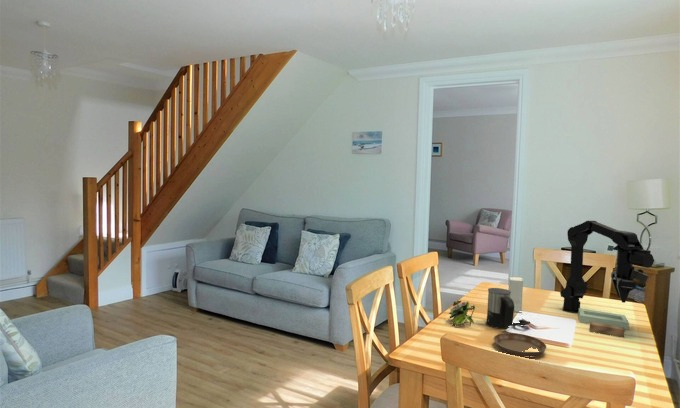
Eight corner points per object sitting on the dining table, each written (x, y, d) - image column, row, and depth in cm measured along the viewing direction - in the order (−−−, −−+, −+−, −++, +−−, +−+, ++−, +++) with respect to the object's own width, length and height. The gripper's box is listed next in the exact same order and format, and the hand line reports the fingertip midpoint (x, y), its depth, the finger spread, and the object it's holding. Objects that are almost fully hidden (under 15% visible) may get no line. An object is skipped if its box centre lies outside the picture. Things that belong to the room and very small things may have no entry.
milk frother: (480, 323, 188) (483, 288, 187) (506, 318, 196) (508, 285, 195) (508, 334, 176) (510, 297, 175) (534, 329, 184) (537, 293, 183)
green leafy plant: (454, 332, 191) (461, 306, 196) (478, 335, 183) (484, 308, 188) (441, 322, 185) (448, 295, 190) (464, 324, 177) (471, 296, 182)
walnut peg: (589, 332, 183) (590, 324, 183) (589, 329, 187) (590, 321, 186) (624, 338, 178) (624, 330, 178) (623, 335, 181) (623, 327, 181)
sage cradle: (579, 322, 195) (580, 315, 195) (578, 314, 206) (578, 308, 206) (628, 330, 188) (629, 323, 187) (624, 321, 198) (624, 315, 198)
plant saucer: (519, 363, 150) (519, 354, 150) (482, 343, 166) (483, 335, 166) (557, 356, 157) (557, 348, 157) (518, 338, 173) (519, 330, 173)
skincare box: (521, 313, 204) (524, 281, 203) (507, 311, 206) (510, 279, 205) (520, 307, 212) (522, 277, 211) (506, 306, 214) (509, 275, 213)
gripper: (653, 269, 173) (649, 308, 175) (642, 260, 191) (639, 296, 192) (620, 265, 178) (616, 304, 179) (612, 258, 195) (609, 293, 196)
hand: (621, 299), depth 186 cm, fingers open, 9 cm apart
